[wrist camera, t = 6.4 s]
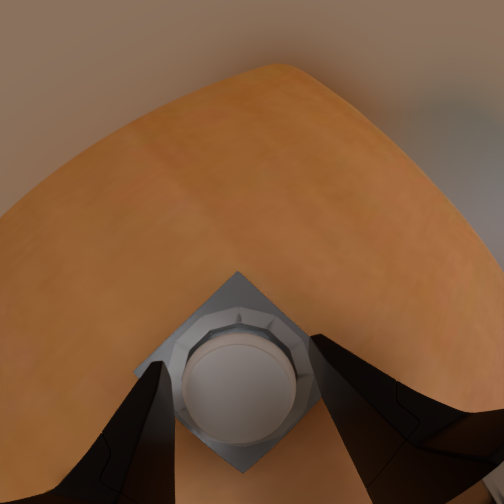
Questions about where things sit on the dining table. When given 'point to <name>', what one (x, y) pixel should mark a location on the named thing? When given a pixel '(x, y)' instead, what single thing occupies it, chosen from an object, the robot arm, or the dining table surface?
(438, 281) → the dining table surface
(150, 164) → the dining table surface
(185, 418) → the holder
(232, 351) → the supplement bottle
